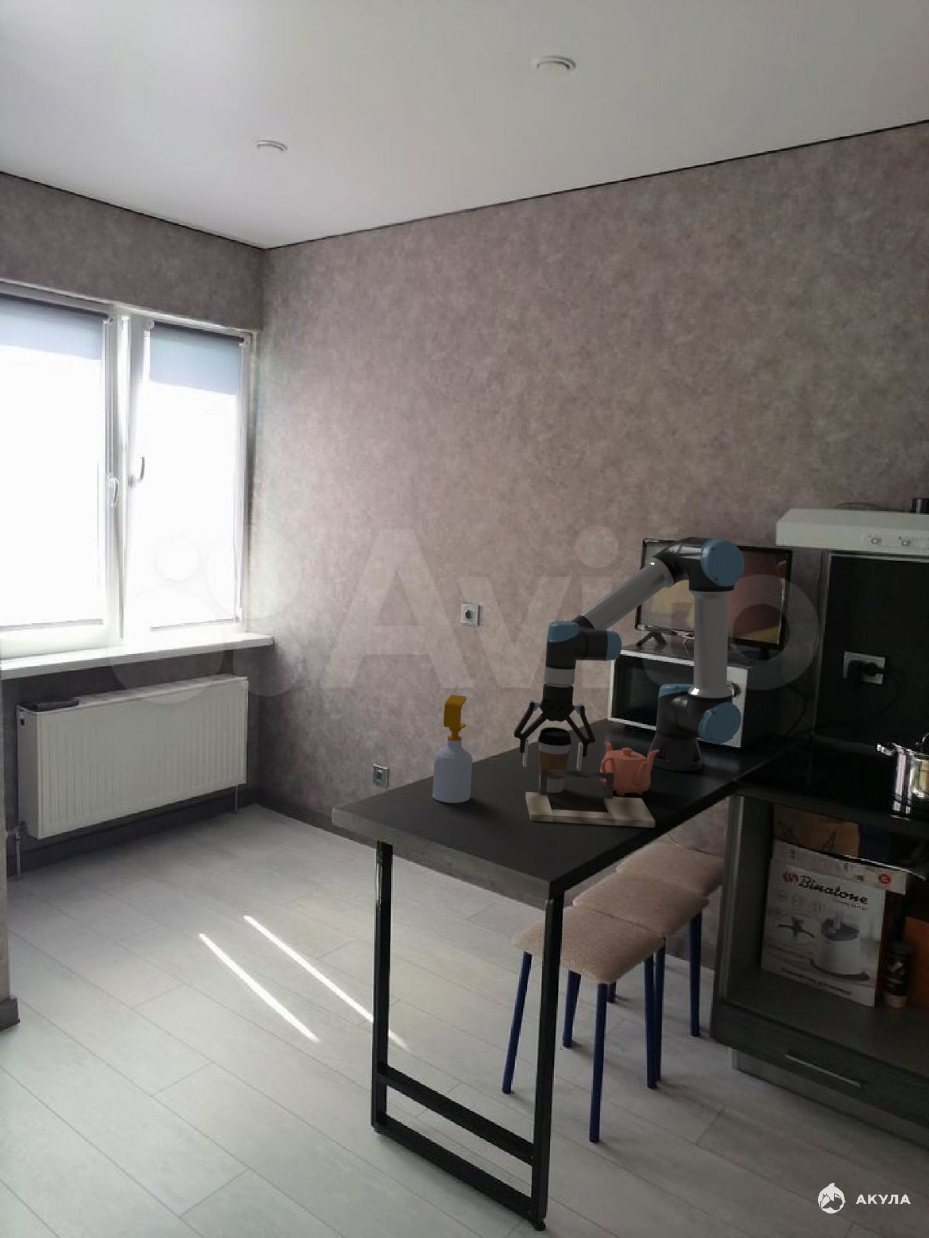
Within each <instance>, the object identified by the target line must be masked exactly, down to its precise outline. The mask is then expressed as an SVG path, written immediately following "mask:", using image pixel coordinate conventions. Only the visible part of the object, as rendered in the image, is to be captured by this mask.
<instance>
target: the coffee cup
mask: <svg viewBox="0 0 929 1238" xmlns="http://www.w3.org/2000/svg"><path fill="white" fill-rule="evenodd" d="M537 742H538V746H539V747H538V775H539V776H538V784H539V785H538V787H539V788H538V789H539V790H540V776H541V769H553V770H567V768H568V761H569V757H570V746H571V744H572V738H571V733H570V731H569V730H568V729H565V728H562V727H553V726H550V727H543V728H542V729H541V730H540V732H539V736H538V737H537ZM565 777H566V776H548V775H547V789H546V793H550V794H552V793H553V794H556V793H557V794H559V793H562V792H563V790H564V783H565V780H566V779H565Z"/></svg>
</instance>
